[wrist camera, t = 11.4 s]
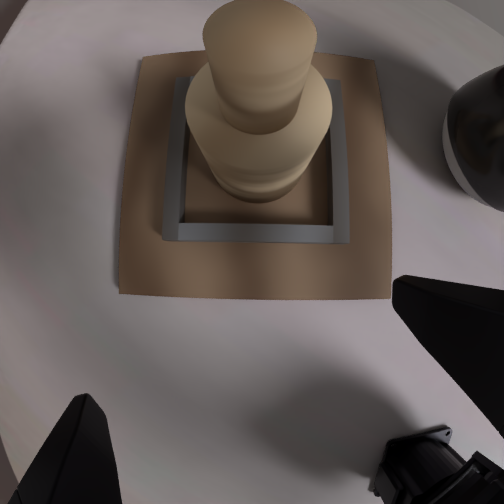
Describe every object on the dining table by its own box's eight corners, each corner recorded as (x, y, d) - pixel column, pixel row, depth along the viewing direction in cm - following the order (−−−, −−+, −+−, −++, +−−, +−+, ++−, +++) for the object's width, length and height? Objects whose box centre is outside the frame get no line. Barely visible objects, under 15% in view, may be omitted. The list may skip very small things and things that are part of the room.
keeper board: (370, 66, 21) (380, 50, 18) (384, 297, 20) (400, 301, 18) (146, 63, 21) (137, 46, 18) (124, 292, 21) (109, 296, 18)
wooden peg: (319, 141, 20) (386, 16, 7) (278, 220, 20) (316, 160, 7) (238, 103, 20) (221, -40, 7) (194, 178, 20) (115, 77, 7)
